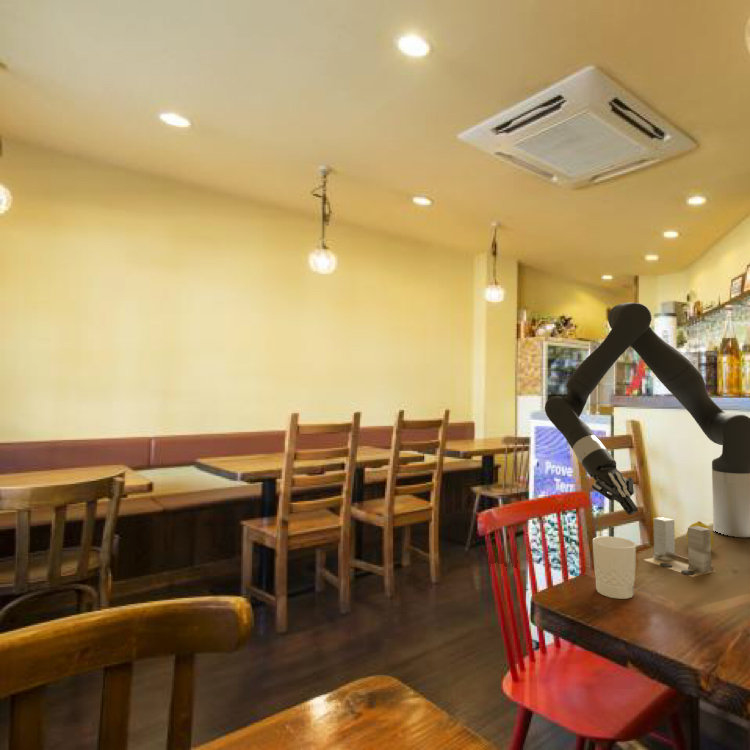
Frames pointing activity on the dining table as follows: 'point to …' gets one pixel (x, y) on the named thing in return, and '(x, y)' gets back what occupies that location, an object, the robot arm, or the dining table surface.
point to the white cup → (614, 566)
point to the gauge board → (692, 554)
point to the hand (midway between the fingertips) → (633, 512)
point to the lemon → (703, 527)
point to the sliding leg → (664, 539)
